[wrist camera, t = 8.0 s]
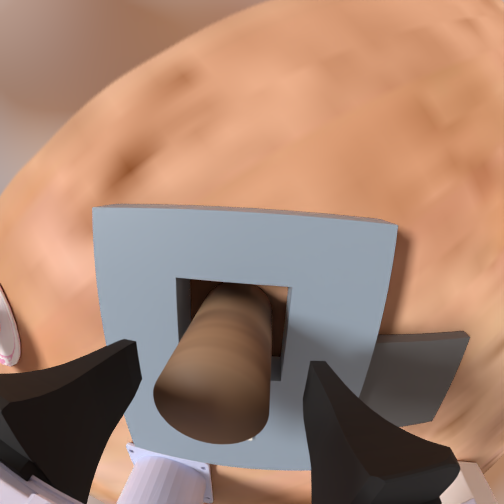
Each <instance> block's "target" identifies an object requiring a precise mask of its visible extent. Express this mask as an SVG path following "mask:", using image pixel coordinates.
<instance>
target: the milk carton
mask: <svg viewBox="0 0 504 504" xmlns="http://www.w3.org/2000/svg"><path fill="white" fill-rule="evenodd" d="M458 463H459V465H460V472H459V474H458V476H457V478H456V479H455V480H454V482H453V483H452V484H451V485H450V486H449V487H448V488H447V489H446V490H445V491H444V492H443V493H442V494H441V496H440V499H441V502H442V504H461V503H463V502H465V501H468V500H470V499H472V498H474V499H475V501H476V503H477V504H498V503H497V501H496V499H495V497H494V495H493V493H492V491H491V489H490V487H489V485H488V483H487V481H486V479H485V477H484V475H483V473H482V471H481V470H480V468H479V466H478V464H477V463H472V462H462V461H458Z"/></svg>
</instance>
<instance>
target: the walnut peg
mask: <svg viewBox="0 0 504 504" xmlns="http://www.w3.org/2000/svg"><path fill="white" fill-rule="evenodd" d="M271 350H272V306H271V303H270V301H269V299H268V297H267V296H266V294H265V293H264V292H263V291H262V290H261V289H259V288H258V287H257V286H255V285H253V284H244V283H232V282H224V283H221V284H219V285H217V286H216V287H215V288H213V289H212V290H211V291H210V292H209V294H208V295H207V297H206V299H205V300H204V302H203V304H202V305H201V307H200V308H199V310H198V312H197V313H196V315H195V317H194V318H193V320H192V322H191V323H190V325H189V327H188V328H187V330H186V332H185V333H184V335H183V337H182V338H181V340H180V342H179V343H178V345H177V347H176V349H175V350H174V352H173V354H172V355H171V357H170V359H169V360H168V362H167V364H166V365H165V367H164V369H163V371H162V372H161V374H160V376H159V377H158V379H157V381H156V383H155V385H154V389H153V398H154V402H155V406H156V408H157V410H158V412H159V413H160V415H161V416H162V417H163V418H164V420H165V421H166V422H167V423H168V424H169V425H170V426H172V427H173V428H174V429H176V430H177V431H179V432H180V433H182V434H184V435H186V436H188V437H190V438H192V439H195V440H198V441H201V442H205V443H211V444H235V443H240V442H243V441H246V440H249V439H251V438H253V437H254V436H256V435H257V434H259V433H260V432H261V431H262V430H263V429H264V427H265V426H266V424H267V421H268V418H269V408H270V382H271Z"/></svg>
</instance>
